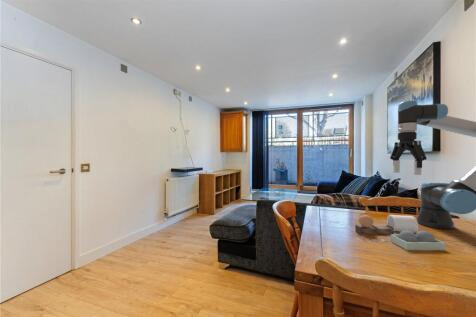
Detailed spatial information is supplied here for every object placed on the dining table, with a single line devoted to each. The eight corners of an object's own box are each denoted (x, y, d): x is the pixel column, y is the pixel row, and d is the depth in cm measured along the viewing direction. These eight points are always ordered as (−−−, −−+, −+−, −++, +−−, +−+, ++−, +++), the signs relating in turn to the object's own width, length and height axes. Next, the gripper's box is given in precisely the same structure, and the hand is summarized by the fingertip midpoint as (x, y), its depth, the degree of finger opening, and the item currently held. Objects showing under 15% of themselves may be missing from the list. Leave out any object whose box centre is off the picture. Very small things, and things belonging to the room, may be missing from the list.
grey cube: (409, 242, 90) (409, 228, 90) (421, 248, 84) (421, 233, 84) (395, 242, 90) (395, 228, 90) (406, 248, 84) (406, 233, 84)
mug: (418, 235, 100) (418, 218, 100) (394, 233, 102) (394, 217, 102) (403, 227, 112) (404, 212, 112) (382, 225, 114) (383, 211, 114)
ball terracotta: (368, 225, 105) (368, 213, 105) (376, 229, 99) (376, 216, 99) (356, 225, 105) (356, 213, 105) (363, 229, 99) (363, 216, 99)
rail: (387, 232, 104) (387, 224, 104) (393, 235, 100) (393, 227, 100) (355, 231, 104) (355, 224, 104) (359, 234, 100) (360, 227, 100)
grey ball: (426, 242, 90) (426, 228, 90) (439, 248, 84) (439, 233, 84) (411, 242, 90) (412, 228, 90) (424, 248, 84) (424, 233, 84)
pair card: (383, 239, 95) (383, 237, 95) (393, 244, 89) (393, 243, 89) (366, 239, 95) (366, 237, 95) (374, 244, 89) (374, 243, 89)
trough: (425, 242, 92) (425, 234, 91) (445, 251, 83) (445, 242, 83) (390, 242, 92) (390, 234, 92) (406, 251, 83) (406, 242, 83)
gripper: (383, 134, 120) (382, 171, 120) (420, 128, 95) (419, 175, 95) (396, 134, 120) (395, 171, 120) (437, 128, 95) (436, 175, 95)
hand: (406, 173), depth 108 cm, fingers open, 13 cm apart
